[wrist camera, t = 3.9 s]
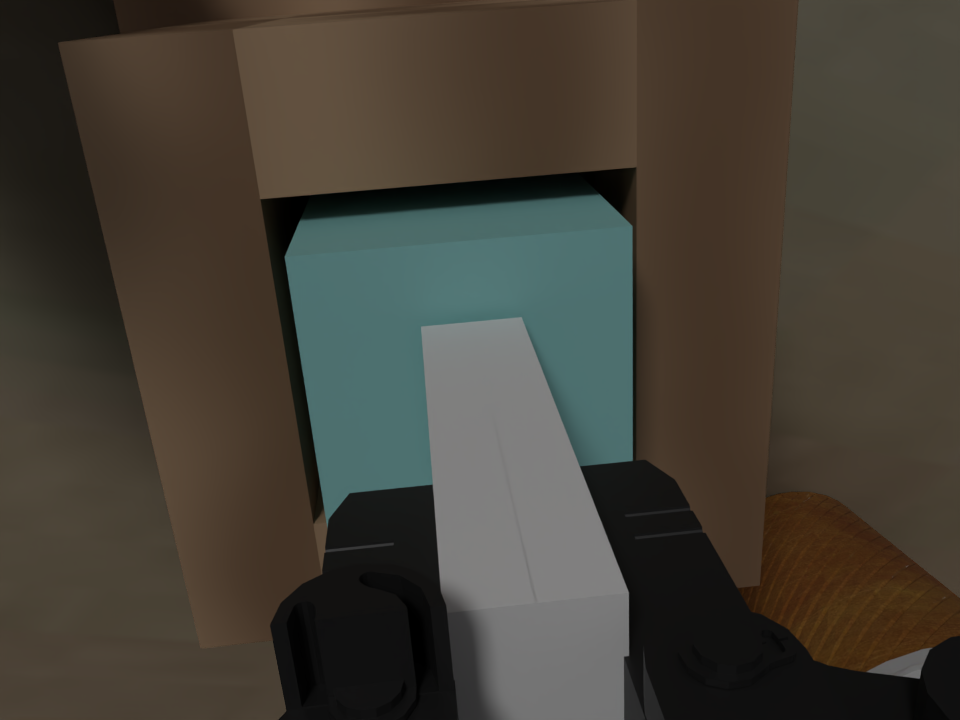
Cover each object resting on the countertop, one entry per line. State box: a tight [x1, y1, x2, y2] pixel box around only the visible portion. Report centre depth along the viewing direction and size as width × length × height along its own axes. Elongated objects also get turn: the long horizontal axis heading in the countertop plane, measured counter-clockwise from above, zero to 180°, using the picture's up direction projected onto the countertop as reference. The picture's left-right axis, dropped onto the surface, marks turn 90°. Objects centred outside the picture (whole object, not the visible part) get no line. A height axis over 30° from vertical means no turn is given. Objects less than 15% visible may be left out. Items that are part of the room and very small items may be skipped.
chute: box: [58, 0, 798, 648], centre depth 21 cm, size 16×16×13 cm
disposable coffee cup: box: [738, 492, 960, 679], centre depth 28 cm, size 10×10×12 cm
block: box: [285, 172, 633, 528], centre depth 19 cm, size 5×5×12 cm
